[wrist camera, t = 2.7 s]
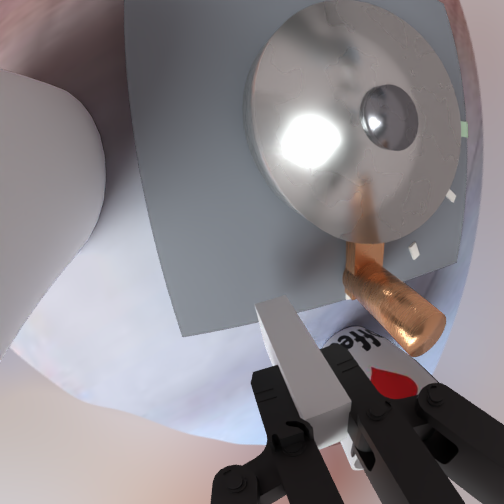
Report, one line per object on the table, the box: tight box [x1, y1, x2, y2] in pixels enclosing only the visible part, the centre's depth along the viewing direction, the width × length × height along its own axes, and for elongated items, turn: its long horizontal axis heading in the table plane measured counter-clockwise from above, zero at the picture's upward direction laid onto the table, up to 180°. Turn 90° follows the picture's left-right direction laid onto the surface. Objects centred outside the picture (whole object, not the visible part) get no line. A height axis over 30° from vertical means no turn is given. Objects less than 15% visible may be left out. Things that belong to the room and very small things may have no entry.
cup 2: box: [322, 326, 439, 470], centre depth 18 cm, size 8×8×10 cm
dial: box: [242, 0, 461, 357], centre depth 10 cm, size 16×12×6 cm
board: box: [124, 0, 468, 337], centre depth 14 cm, size 22×22×2 cm
